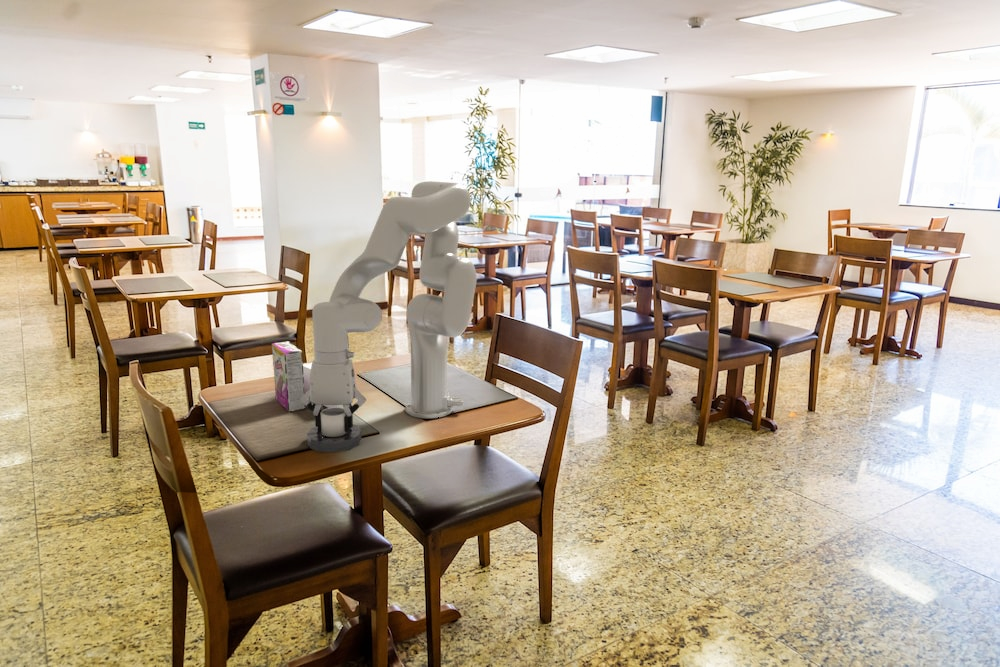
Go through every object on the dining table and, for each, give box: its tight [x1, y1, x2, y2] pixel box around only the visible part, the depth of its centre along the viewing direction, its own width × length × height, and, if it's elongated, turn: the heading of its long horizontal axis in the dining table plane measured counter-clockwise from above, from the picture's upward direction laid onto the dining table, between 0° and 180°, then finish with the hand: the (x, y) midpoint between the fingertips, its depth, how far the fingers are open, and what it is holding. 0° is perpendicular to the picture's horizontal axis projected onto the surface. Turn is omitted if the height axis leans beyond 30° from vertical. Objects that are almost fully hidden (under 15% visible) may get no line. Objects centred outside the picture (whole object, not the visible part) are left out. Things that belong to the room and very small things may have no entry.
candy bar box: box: [271, 340, 307, 412], centre depth 179 cm, size 11×5×16 cm, turn 35°
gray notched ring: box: [306, 423, 362, 453], centre depth 158 cm, size 12×12×2 cm
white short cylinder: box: [320, 407, 347, 438], centre depth 157 cm, size 6×6×5 cm
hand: (334, 429), depth 157 cm, fingers closed on white short cylinder, 5 cm apart
